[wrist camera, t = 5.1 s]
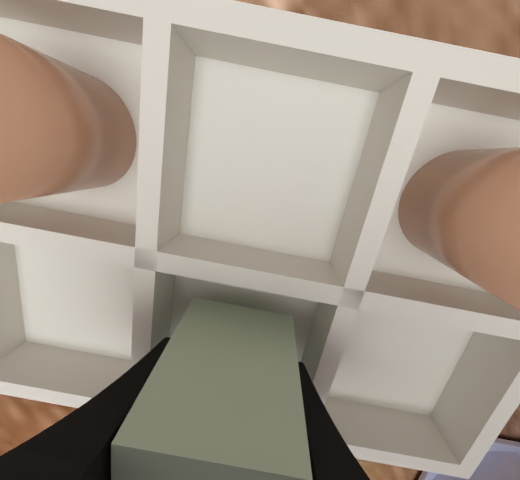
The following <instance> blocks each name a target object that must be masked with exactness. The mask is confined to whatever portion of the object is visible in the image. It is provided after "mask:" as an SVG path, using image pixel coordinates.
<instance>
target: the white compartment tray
mask: <svg viewBox="0 0 520 480" xmlns="http://www.w3.org/2000/svg"><path fill="white" fill-rule="evenodd" d="M0 34H3V35H5V36H7V37H9V38H11V39H13V40H16V41H18V42H20V43H22V44H24V45H26V46H29V47H31V48H33V49H35V50H37V51H39V52H42V53H44V54H46V55H48V56H50V57H52V58H55V59H57V60H59V61H61V62H63V63H65V64H68V65H70V66H72V67H74V68H76V69H78V70H81V71H83V72H85V73H87V74H89V75H91V76H94V77H96V78H98V79H99V80H101V81H103V82H104V83H106V84H107V85H108V86H110V87H111V88H112V89H113V90H114V91H115V92H116V93H117V94H118V95H119V97H120V98H121V99H122V101H123V102H124V104H125V105H126V107H127V109H128V111H129V112H130V115H131V117H132V120H133V123H134V127H135V132H136V152H135V156H134V159H133V162H132V164H131V166H130V168H129V170H128V171H127V172H126V174H125V175H124V176H123V177H122V178H121V179H119V180H118V181H117V182H115V183H113V184H111V185H108V186H105V187H99V188H93V189H87V190H81V191H75V192H68V193H62V194H56V195H50V196H44V197H37V198H31V199H25V200H19V201H13V202H6V203H0V394H3V395H9V396H14V397H20V398H25V399H31V400H36V401H42V402H47V403H53V404H58V405H64V406H69V407H75V408H79V407H80V406H82V405H83V404H85V403H86V402H87V401H89V400H90V399H92V398H93V397H94V396H96V395H97V394H98V393H100V392H101V391H102V390H104V389H105V388H106V387H108V386H109V385H110V384H111V383H113V382H114V381H115V380H117V379H118V378H119V377H120V376H122V375H123V374H124V373H125V372H126V371H128V370H129V369H130V368H131V367H132V366H134V365H135V364H136V363H137V362H138V361H139V360H141V359H142V358H143V357H144V356H145V355H146V354H147V353H148V352H150V351H151V350H152V349H153V348H154V347H155V346H156V345H157V344H158V343H159V342H160V341H161V340H162V339H164V338H165V337H169V338H171V337H172V335H173V333H174V331H175V329H176V328H177V326H178V324H179V322H180V321H181V319H182V317H183V315H184V313H185V312H186V310H187V308H188V306H189V305H190V303H191V301H192V299H193V297H196V298H201V299H206V300H211V301H217V302H222V303H227V304H232V305H238V306H243V307H248V308H254V309H259V310H264V311H269V312H275V313H280V314H285V315H290V316H293V325H294V333H295V341H296V349H297V357H298V362H303V363H304V365H305V367H306V369H307V371H308V373H309V375H310V378H311V380H312V382H313V384H314V386H315V388H316V390H317V392H318V394H319V396H320V398H321V400H322V402H323V404H324V406H325V407H326V409H327V411H328V413H329V415H330V417H331V419H332V420H333V422H334V424H335V426H336V427H337V429H338V431H339V432H340V434H341V436H342V437H343V439H344V441H345V442H346V444H347V446H348V447H349V449H350V450H351V452H352V454H353V455H354V457H355V458H356V459H361V460H366V461H372V462H377V463H383V464H388V465H394V466H399V467H405V468H410V469H416V470H421V471H427V472H432V473H438V474H443V475H449V476H454V477H460V478H465V479H470V477H471V476H472V474H473V473H474V471H475V470H476V468H477V467H478V465H479V464H480V462H481V461H482V459H483V458H484V456H485V455H486V453H487V452H488V450H489V449H490V447H491V446H492V444H493V443H494V441H495V440H496V438H497V437H498V435H499V434H500V432H501V431H502V429H503V428H504V426H505V425H506V423H507V422H508V420H509V419H510V417H511V416H512V414H513V413H514V411H515V410H516V408H517V407H518V405H519V404H520V311H518V310H517V309H515V308H514V307H512V306H510V305H509V304H507V303H505V302H504V301H502V300H501V299H499V298H497V297H496V296H494V295H493V294H491V293H489V292H488V291H486V290H484V289H483V288H481V287H480V286H478V285H476V284H475V283H473V282H471V281H470V280H468V279H467V278H465V277H463V276H462V275H460V274H458V273H457V272H455V271H454V270H452V269H450V268H449V267H447V266H446V265H444V264H442V263H441V262H439V261H437V260H436V259H434V258H433V257H431V256H429V255H428V254H426V253H424V252H423V251H421V250H420V249H418V248H416V247H415V246H414V245H412V244H411V243H410V242H409V241H408V240H407V239H406V237H405V236H404V234H403V232H402V230H401V228H400V224H399V218H398V208H399V202H400V198H401V195H402V193H403V190H404V188H405V186H406V185H407V183H408V181H409V180H410V179H411V177H412V176H413V175H414V174H415V173H416V172H417V171H418V170H419V169H420V168H421V167H422V166H423V165H424V164H426V163H427V162H429V161H430V160H432V159H434V158H436V157H437V156H440V155H442V154H445V153H448V152H452V151H457V150H472V149H492V148H513V147H520V58H515V57H510V56H505V55H500V54H495V53H490V52H486V51H481V50H476V49H471V48H466V47H461V46H456V45H451V44H446V43H441V42H436V41H431V40H426V39H421V38H417V37H412V36H407V35H402V34H397V33H392V32H387V31H382V30H377V29H372V28H367V27H362V26H357V25H352V24H348V23H343V22H338V21H333V20H328V19H323V18H318V17H313V16H308V15H303V14H298V13H293V12H288V11H284V10H279V9H274V8H269V7H264V6H259V5H254V4H249V3H244V2H239V1H234V0H0Z"/></svg>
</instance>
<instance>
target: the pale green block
mask: <svg viewBox="0 0 520 480" xmlns="http://www.w3.org/2000/svg"><path fill="white" fill-rule="evenodd" d="M111 480H313V479H312V471H311V462H310V454H309V446H308V438H307V430H306V422H305V414H304V406H303V398H302V389H301V381H300V373H299V365H298V357H297V349H296V341H295V333H294V325H293V316H290V315H285V314H280V313H275V312H269V311H264V310H259V309H254V308H248V307H243V306H238V305H232V304H227V303H222V302H217V301H211V300H206V299H201V298H196V297H193V299H192V301H191V303H190V305H189V306H188V308H187V310H186V312H185V313H184V315H183V317H182V319H181V321H180V322H179V324H178V326H177V328H176V329H175V331H174V333H173V335H172V337H171V338H170V340H169V342H168V344H167V345H166V347H165V349H164V351H163V353H162V354H161V356H160V358H159V360H158V361H157V363H156V365H155V367H154V368H153V370H152V372H151V374H150V376H149V377H148V379H147V381H146V383H145V384H144V386H143V388H142V390H141V392H140V393H139V395H138V397H137V399H136V400H135V402H134V404H133V406H132V408H131V409H130V411H129V413H128V415H127V416H126V418H125V420H124V422H123V424H122V425H121V427H120V429H119V431H118V432H117V434H116V436H115V438H114V439H113V441H112V443H111Z"/></svg>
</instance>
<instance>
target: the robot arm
mask: <svg viewBox="0 0 520 480" xmlns="http://www.w3.org/2000/svg"><path fill="white" fill-rule="evenodd" d="M169 340H170V338H169V337H165V338H164V339H162V340H161V341H160V342H159V343H158V344H157V345H156V346H155V347H154V348H153V349H152V350H151V351H150V352H148V353H147V354H146V355H145V356H144V357H143V358H142V359H141V360H139V361H138V362H137V363H136V364H135V365H134V366H132V367H131V368H130V369H129V370H128V371H126V372H125V373H124V374H123V375H122V376H120V377H119V378H118V379H117V380H115V381H114V382H113V383H111V384H110V385H109V386H108V387H106V388H105V389H104V390H102V391H101V392H100V393H98V394H97V395H96V396H94V397H93V398H92V399H90V400H89V401H87V402H86V403H85V404H83V405H82V406H80V407H79V408H78V409H76V410H75V411H73V412H72V413H70V414H69V415H67V416H66V417H64V418H63V419H61V420H60V421H58V422H56V423H55V424H53V425H52V426H50V427H49V428H47V429H45V430H44V431H42V432H41V433H39V434H37V435H36V436H34V437H33V438H31V439H29V440H27V441H26V442H24V443H22V444H21V445H19V446H17V447H16V448H14V449H12V450H10V451H8V452H7V453H5V454H3V455H1V456H0V480H111V443H112V441H113V439H114V438H115V436H116V434H117V432H118V431H119V429H120V427H121V425H122V424H123V422H124V420H125V418H126V416H127V415H128V413H129V411H130V409H131V408H132V406H133V404H134V402H135V400H136V399H137V397H138V395H139V393H140V392H141V390H142V388H143V386H144V384H145V383H146V381H147V379H148V377H149V376H150V374H151V372H152V370H153V368H154V367H155V365H156V363H157V361H158V360H159V358H160V356H161V354H162V353H163V351H164V349H165V347H166V345H167V344H168V342H169ZM298 365H299V373H300V381H301V389H302V398H303V406H304V414H305V422H306V430H307V438H308V446H309V454H310V462H311V471H312V479H313V480H370V479H369V477H368V476H367V474H366V473H365V472H364V470H363V469H362V467H361V466H360V464H359V463H358V461H357V460H356V458H355V457H354V455H353V454H352V452H351V450H350V449H349V447H348V446H347V444H346V442H345V441H344V439H343V437H342V436H341V434H340V432H339V431H338V429H337V427H336V426H335V424H334V422H333V420H332V419H331V417H330V415H329V413H328V411H327V409H326V407H325V406H324V404H323V402H322V400H321V398H320V396H319V394H318V392H317V390H316V388H315V386H314V384H313V382H312V380H311V378H310V375H309V373H308V371H307V369H306V367H305V365H304V363H303V362H298ZM418 480H520V442H516V441H511V440H505V439H500V438H496V440H495V441H494V443H493V444H492V446H491V447H490V449H489V450H488V452H487V453H486V455H485V456H484V458H483V459H482V461H481V462H480V464H479V465H478V467H477V468H476V470H475V471H474V473H473V474H472V476H471V477H470V479H465V478H460V477H454V476H449V475H443V474H438V473H432V472H427V471H423V472H422V474H421V475H420V477H419V479H418Z"/></svg>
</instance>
